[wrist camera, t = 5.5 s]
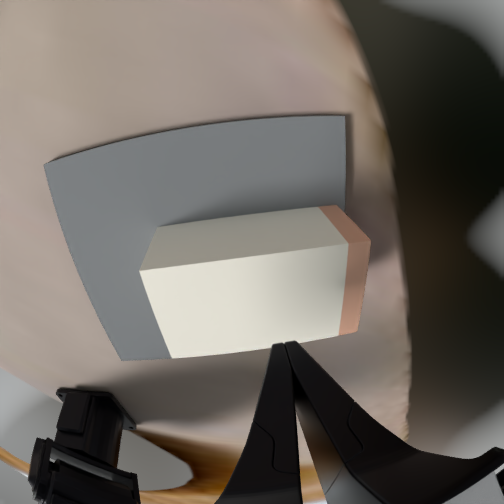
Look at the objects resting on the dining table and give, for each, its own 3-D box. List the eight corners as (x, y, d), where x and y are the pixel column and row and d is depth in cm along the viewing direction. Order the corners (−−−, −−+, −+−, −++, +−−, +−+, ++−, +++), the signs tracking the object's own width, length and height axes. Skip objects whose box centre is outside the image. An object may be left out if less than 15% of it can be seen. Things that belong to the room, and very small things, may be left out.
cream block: (178, 305, 16) (332, 285, 17) (171, 358, 13) (357, 331, 13) (157, 226, 14) (336, 204, 14) (139, 270, 11) (371, 240, 11)
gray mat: (331, 330, 20) (333, 336, 19) (123, 354, 19) (121, 360, 18) (340, 115, 13) (344, 116, 12) (49, 161, 12) (43, 164, 12)
